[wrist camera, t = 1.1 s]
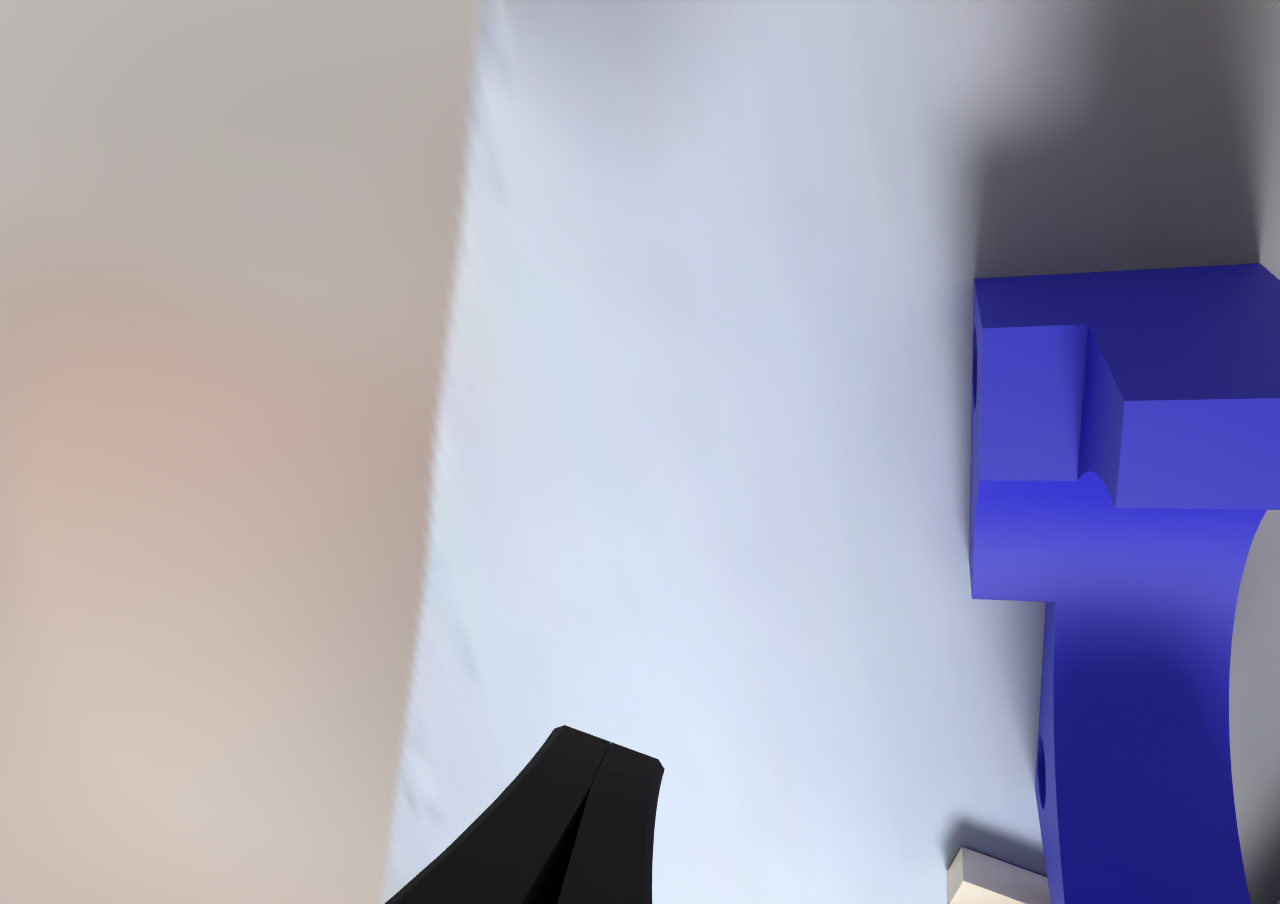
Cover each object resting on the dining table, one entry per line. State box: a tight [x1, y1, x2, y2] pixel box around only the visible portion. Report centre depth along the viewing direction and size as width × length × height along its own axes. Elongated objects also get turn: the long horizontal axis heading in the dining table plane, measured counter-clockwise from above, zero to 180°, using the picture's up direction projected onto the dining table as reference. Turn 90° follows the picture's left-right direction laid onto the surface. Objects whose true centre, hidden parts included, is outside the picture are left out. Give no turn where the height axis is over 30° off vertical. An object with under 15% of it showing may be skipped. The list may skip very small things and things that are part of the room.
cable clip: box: [969, 263, 1280, 904], centre depth 17 cm, size 12×4×6 cm, turn 7°
